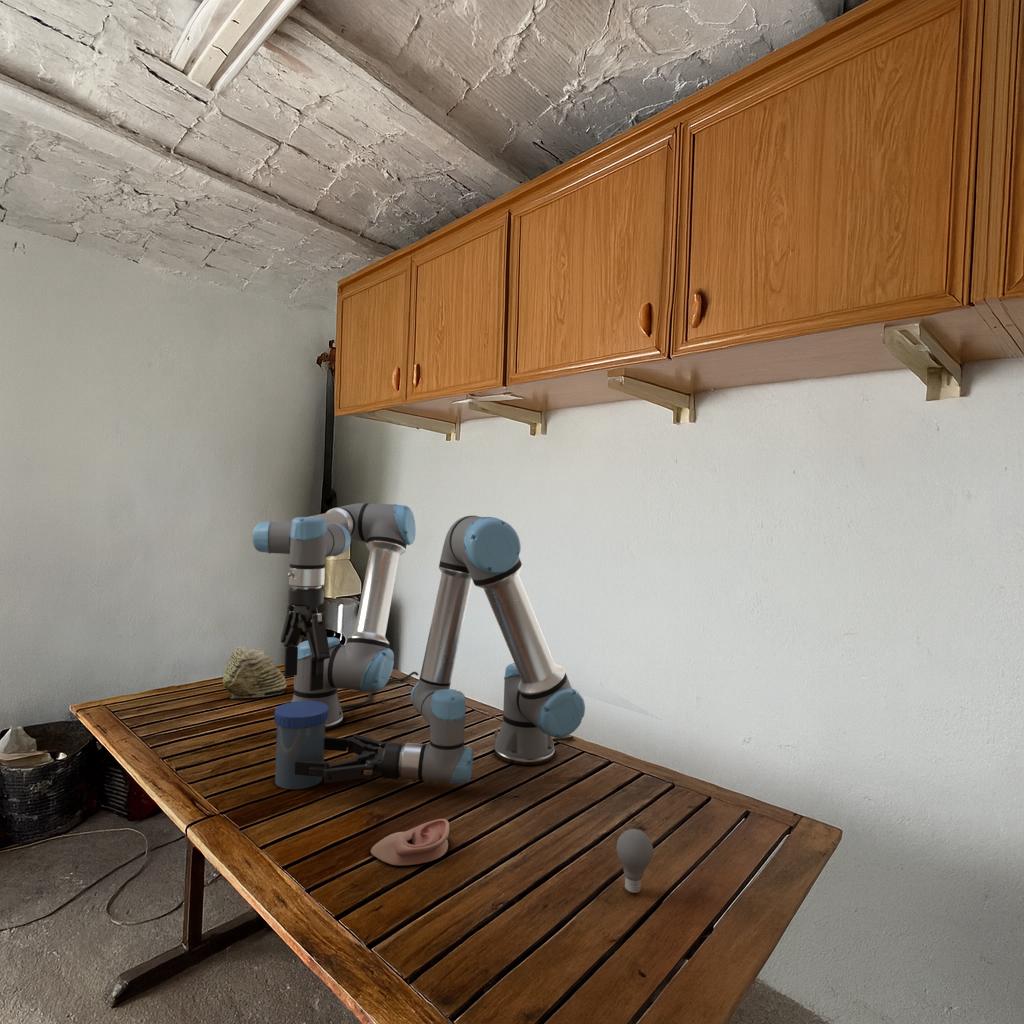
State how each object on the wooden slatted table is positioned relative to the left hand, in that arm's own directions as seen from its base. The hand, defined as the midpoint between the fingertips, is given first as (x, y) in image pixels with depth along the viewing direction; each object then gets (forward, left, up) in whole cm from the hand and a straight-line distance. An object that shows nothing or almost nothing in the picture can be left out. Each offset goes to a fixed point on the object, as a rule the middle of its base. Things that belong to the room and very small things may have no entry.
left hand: (302, 682), depth 141 cm
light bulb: (-14, +75, -22) cm, 80 cm away
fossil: (-23, -61, -22) cm, 69 cm away
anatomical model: (+2, +39, -22) cm, 45 cm away
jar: (0, 0, -22) cm, 22 cm away
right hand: (0, +2, -16) cm, 16 cm away
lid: (0, 0, -6) cm, 6 cm away
